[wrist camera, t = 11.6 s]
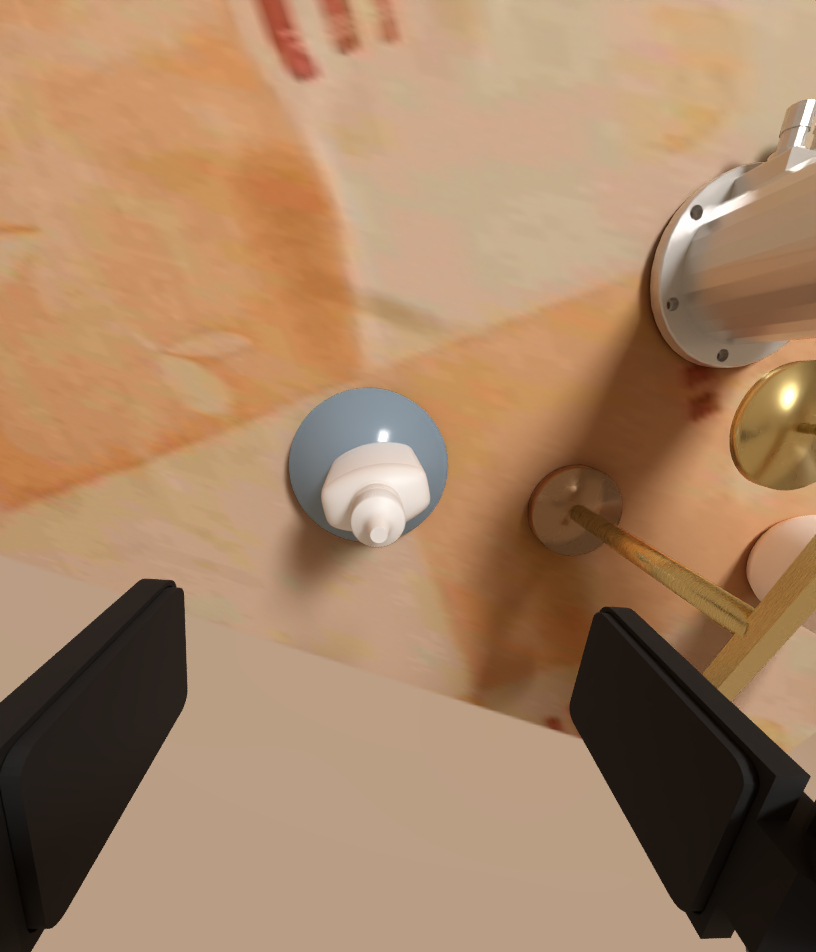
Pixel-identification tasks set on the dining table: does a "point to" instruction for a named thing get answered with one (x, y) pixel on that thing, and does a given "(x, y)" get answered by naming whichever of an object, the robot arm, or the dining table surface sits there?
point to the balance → (755, 629)
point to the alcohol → (779, 556)
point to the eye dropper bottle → (375, 492)
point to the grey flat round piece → (357, 424)
